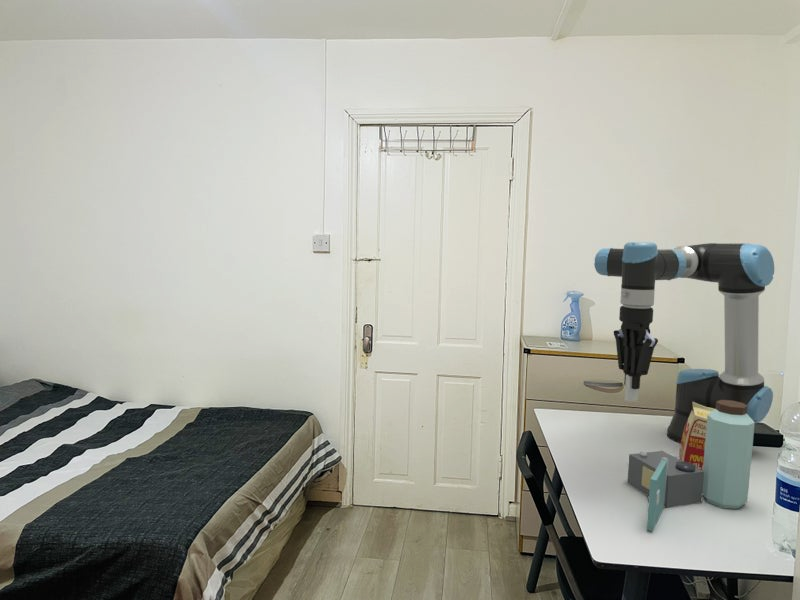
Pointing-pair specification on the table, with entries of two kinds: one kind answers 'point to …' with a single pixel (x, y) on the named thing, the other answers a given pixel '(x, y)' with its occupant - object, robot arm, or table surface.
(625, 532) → the table surface
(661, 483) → the side door
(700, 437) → the milk carton
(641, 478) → the camera body
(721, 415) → the water bottle
